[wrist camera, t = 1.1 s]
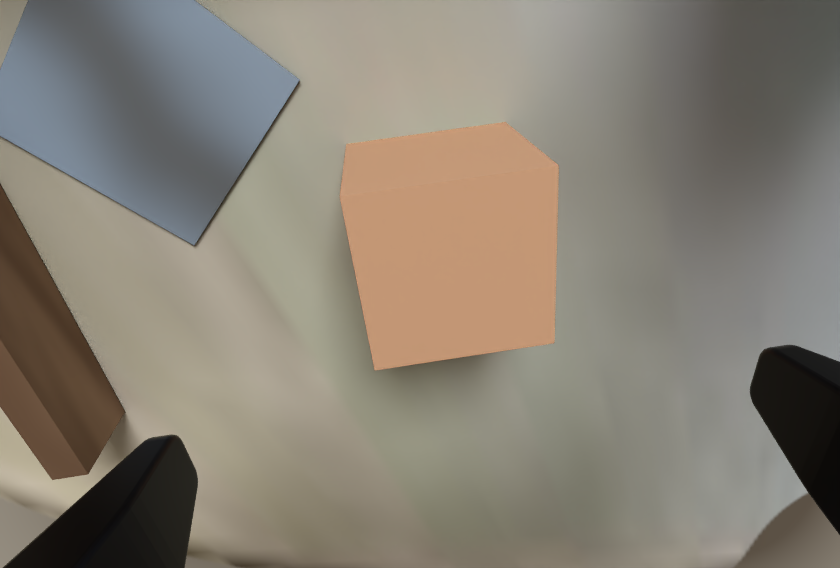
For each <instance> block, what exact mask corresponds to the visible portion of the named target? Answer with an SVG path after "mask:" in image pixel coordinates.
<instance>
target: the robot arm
mask: <svg viewBox="0 0 840 568" xmlns="http://www.w3.org/2000/svg"><path fill="white" fill-rule="evenodd" d="M750 395H751V399H752V402H753V404H754V406H755V408H756V409H757V411H758V412H759V414H760V416H761V417H762V419H763V421H764V422H765V424H766V425H767V427H768V429H769V430H770V432H771V434H772V435H773V437H774V438H775V440H776V442H777V443H778V445H779V447H780V448H781V450H782V451H783V453H784V455H785V456H786V458H787V460H788V461H789V463H790V464H791V466H792V468H793V469H794V471H795V473H796V474H797V476H798V477H799V479H800V480H801V482H802V484H803V485H804V487H805V488H806V490H807V491H808V493H809V494H810V495H811V497H812V498H813V500H814V501H815V502H816V504H817V505H818V507H819V508H820V509H821V511H822V512H823V513H824V515H825V516H826V517H827V519H828V520H829V521H830V523H831V524H832V525H833V527H834V528H835V529H836V531H837V532H838V533H839V535H840V362H839V361H836V360H833V359H831V358H828V357H825V356H823V355H820V354H817V353H814V352H812V351H809V350H806V349H804V348H801V347H798V346H795V345H784V346H777V347H770V348H767V349H764V350H763V351H762V352H761V354H760V356H759V359H758V362H757V366H756V369H755V372H754V376H753V379H752V383H751V386H750ZM197 487H198V478H197V472H196V469H195V467H194V465H193V463H192V461H191V459H190V457H189V454H188V452H187V450H186V448H185V446H184V444H183V442H182V440H181V439H180V438H179V437H178V436H177V435H166V436H159V437H152V438H149V439H147V440H145V441H144V442H143V443H142V444H140V445H139V446H138V447H137V448H136V449H135V450H134V451H133V452H131V453H130V454H129V455H128V456H127V457H126V458H125V459H124V460H123V461H121V462H120V463H119V464H118V465H117V466H116V467H115V468H114V469H112V470H111V471H110V472H109V473H108V474H107V475H106V476H105V477H104V478H102V479H101V480H100V481H99V482H98V483H97V484H96V485H95V486H93V487H92V488H91V489H90V490H89V491H88V492H87V493H86V494H85V495H83V496H82V497H81V498H80V499H79V500H78V501H77V502H76V503H74V504H73V505H72V506H71V507H70V508H69V509H68V510H67V511H66V512H64V513H63V514H62V515H61V516H60V517H59V518H58V519H57V520H56V521H54V522H53V523H52V524H51V525H50V526H49V527H48V528H47V529H45V530H44V531H43V532H42V533H41V534H40V535H39V536H38V537H36V538H35V539H34V540H33V541H32V542H31V543H30V544H29V545H28V546H26V547H25V548H24V549H23V550H22V551H21V552H20V553H19V554H17V555H16V556H15V557H14V558H13V559H12V560H11V561H10V562H9V563H7V565H5V566H4V567H3V568H185V562H186V556H187V550H188V543H189V537H190V531H191V525H192V518H193V512H194V506H195V500H196V493H197Z"/></svg>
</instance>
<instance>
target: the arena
mask: <svg viewBox="0 0 840 568" xmlns="http://www.w3.org/2000/svg"><path fill="white" fill-rule="evenodd" d="M298 82H299V79H298V78H297V77H295V76H294V75H293V74H291V73H290V72H289V71H287V70H286V69H285V68H283V67H282V66H281V65H280V64H278V63H277V62H276V61H274V60H273V59H272V58H270V57H269V56H268V55H266V54H265V53H264V52H262V51H261V50H260V49H258V48H257V47H256V46H254V45H253V44H252V43H250V42H249V41H248V40H246V39H245V38H244V37H243V36H241V35H240V34H239V33H237V32H236V31H235V30H233V29H232V28H231V27H229V26H228V25H227V24H225V23H224V22H223V21H221V20H220V19H219V18H217V17H216V16H215V15H213V14H212V13H211V12H210V11H208V10H207V9H206V8H204V7H203V6H202V5H200V4H199V3H198V2H196V1H195V0H28V2H27V5H26V7H25V10H24V12H23V15H22V17H21V20H20V22H19V25H18V27H17V29H16V32H15V34H14V37H13V39H12V42H11V44H10V47H9V49H8V52H7V54H6V57H5V59H4V62H3V64H2V67H1V69H0V136H1V137H3V138H5V139H6V140H8V141H10V142H12V143H14V144H15V145H17V146H19V147H21V148H22V149H24V150H26V151H28V152H29V153H31V154H33V155H35V156H37V157H38V158H40V159H42V160H44V161H45V162H47V163H49V164H51V165H53V166H54V167H56V168H58V169H60V170H61V171H63V172H65V173H67V174H68V175H70V176H72V177H74V178H76V179H77V180H79V181H81V182H83V183H84V184H86V185H88V186H90V187H91V188H93V189H95V190H97V191H99V192H100V193H102V194H104V195H106V196H107V197H109V198H111V199H113V200H114V201H116V202H118V203H120V204H122V205H123V206H125V207H127V208H129V209H130V210H132V211H134V212H136V213H138V214H139V215H141V216H143V217H145V218H146V219H148V220H150V221H152V222H153V223H155V224H157V225H159V226H161V227H162V228H164V229H166V230H168V231H169V232H171V233H173V234H175V235H176V236H178V237H180V238H182V239H184V240H185V241H187V242H189V243H191V244H192V245H195V243H196V242H197V240H198V239H199V237H200V236H201V234H202V232H203V231H204V229H205V228H206V226H207V225H208V223H209V221H210V220H211V218H212V217H213V215H214V214H215V212H216V210H217V209H218V207H219V206H220V204H221V203H222V201H223V200H224V198H225V196H226V195H227V193H228V192H229V190H230V189H231V187H232V185H233V184H234V182H235V181H236V179H237V178H238V176H239V174H240V173H241V171H242V170H243V168H244V167H245V165H246V163H247V162H248V160H249V159H250V157H251V156H252V154H253V152H254V151H255V149H256V148H257V146H258V145H259V143H260V141H261V140H262V138H263V137H264V135H265V134H266V132H267V131H268V129H269V127H270V126H271V124H272V123H273V121H274V120H275V118H276V116H277V115H278V113H279V112H280V110H281V109H282V107H283V105H284V104H285V102H286V101H287V99H288V98H289V96H290V94H291V93H292V91H293V90H294V88H295V87H296V85H297V83H298ZM0 407H1V408H2V410H3V411H4V413H5V414H6V415H7V417H8V418H9V420H10V421H11V423H12V424H13V425H14V427H15V428H16V430H17V431H18V432H19V434H20V435H21V437H22V438H23V439H24V441H25V442H26V444H27V445H28V446H29V448H30V449H31V451H32V452H33V453H34V455H35V456H36V458H37V459H38V460H39V462H40V463H41V465H42V466H43V468H44V469H45V470H46V472H47V473H48V475H49V476H50V477H51V479H52V480H55V479H61V478H68V477H74V476H80V475H87V474H89V472H90V470H91V469H92V467H93V465H94V463H95V462H96V460H97V458H98V457H99V455H100V453H101V451H102V450H103V448H104V446H105V445H106V443H107V441H108V440H109V438H110V436H111V434H112V433H113V431H114V429H115V428H116V426H117V424H118V423H119V421H120V419H121V417H122V416H123V414H124V412H125V411H124V409H123V407H122V406H121V404H120V402H119V400H118V398H117V397H116V395H115V393H114V391H113V389H112V387H111V386H110V384H109V382H108V380H107V378H106V376H105V375H104V373H103V371H102V369H101V367H100V366H99V364H98V362H97V360H96V358H95V356H94V355H93V353H92V351H91V349H90V347H89V346H88V344H87V342H86V340H85V338H84V336H83V335H82V333H81V331H80V329H79V327H78V325H77V324H76V322H75V320H74V318H73V316H72V315H71V313H70V311H69V309H68V307H67V305H66V304H65V302H64V300H63V298H62V296H61V294H60V293H59V291H58V289H57V287H56V285H55V284H54V282H53V280H52V278H51V276H50V274H49V273H48V271H47V269H46V267H45V265H44V264H43V262H42V260H41V258H40V256H39V254H38V253H37V251H36V249H35V247H34V245H33V243H32V242H31V240H30V238H29V236H28V234H27V233H26V231H25V229H24V227H23V225H22V223H21V222H20V220H19V218H18V216H17V214H16V212H15V211H14V209H13V207H12V205H11V203H10V202H9V200H8V198H7V196H6V194H5V192H4V191H3V189H2V187H1V185H0Z"/></svg>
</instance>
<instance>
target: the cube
mask: <svg viewBox="0 0 840 568" xmlns="http://www.w3.org/2000/svg"><path fill="white" fill-rule="evenodd" d="M558 176H559V165H558V164H556V163H555V162H554V161H553V160H551V159H550V158H549V157H548V156H546V155H545V154H544V153H543V152H542V151H540V150H539V149H538V148H537V147H535V146H534V145H533V144H532V143H530V142H529V141H528V140H527V139H526V138H524V137H523V136H522V135H521V134H519V133H518V132H517V131H516V130H514V129H513V128H512V127H511V126H510V125H508V124H507V123H506V122H502V123H495V124H488V125H481V126H473V127H466V128H459V129H452V130H445V131H437V132H430V133H423V134H416V135H408V136H401V137H394V138H387V139H380V140H372V141H365V142H358V143H351V144H346V151H345V159H344V167H343V175H342V182H341V190H340V200H341V205H342V210H343V215H344V220H345V225H346V230H347V235H348V240H349V245H350V250H351V255H352V260H353V265H354V270H355V275H356V280H357V285H358V290H359V295H360V300H361V305H362V310H363V315H364V320H365V325H366V330H367V335H368V340H369V345H370V349H371V354H372V359H373V364H374V369H375V370H381V369H388V368H394V367H401V366H408V365H414V364H421V363H427V362H434V361H440V360H447V359H453V358H460V357H467V356H473V355H480V354H486V353H493V352H499V351H506V350H513V349H519V348H526V347H532V346H539V345H545V344H552V343H554V339H555V298H556V258H557V217H558Z"/></svg>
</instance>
